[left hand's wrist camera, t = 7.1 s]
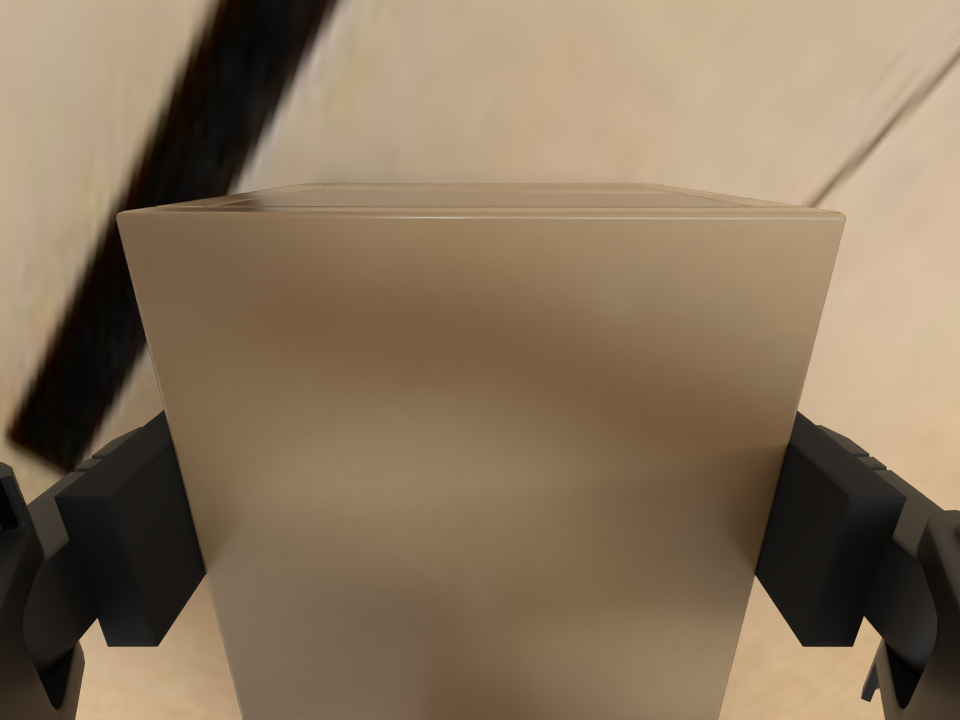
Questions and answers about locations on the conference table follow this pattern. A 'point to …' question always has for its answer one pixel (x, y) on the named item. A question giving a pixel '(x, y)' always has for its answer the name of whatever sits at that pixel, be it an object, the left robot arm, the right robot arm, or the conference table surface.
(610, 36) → the conference table surface
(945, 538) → the left robot arm
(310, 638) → the cabinet
